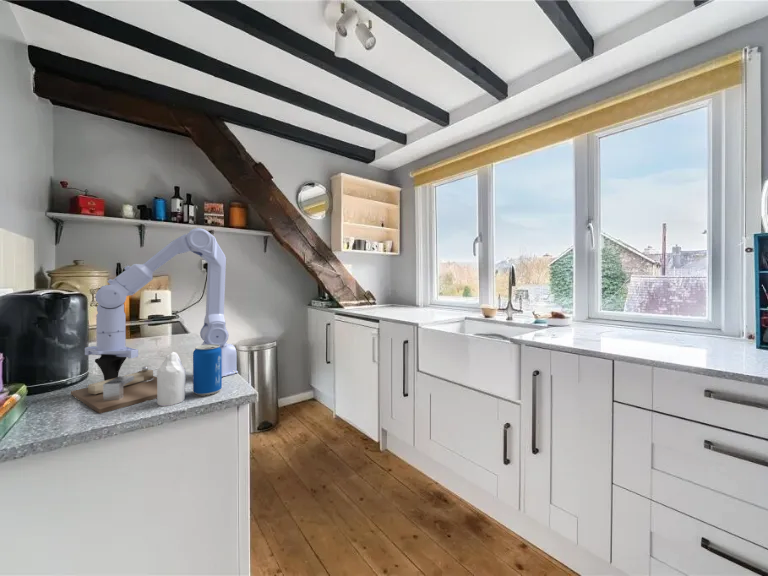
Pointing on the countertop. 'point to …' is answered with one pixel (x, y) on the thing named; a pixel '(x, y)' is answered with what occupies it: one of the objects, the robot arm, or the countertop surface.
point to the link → (138, 377)
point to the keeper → (118, 386)
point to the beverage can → (207, 369)
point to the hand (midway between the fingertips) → (111, 383)
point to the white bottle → (171, 381)
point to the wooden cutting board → (130, 397)
